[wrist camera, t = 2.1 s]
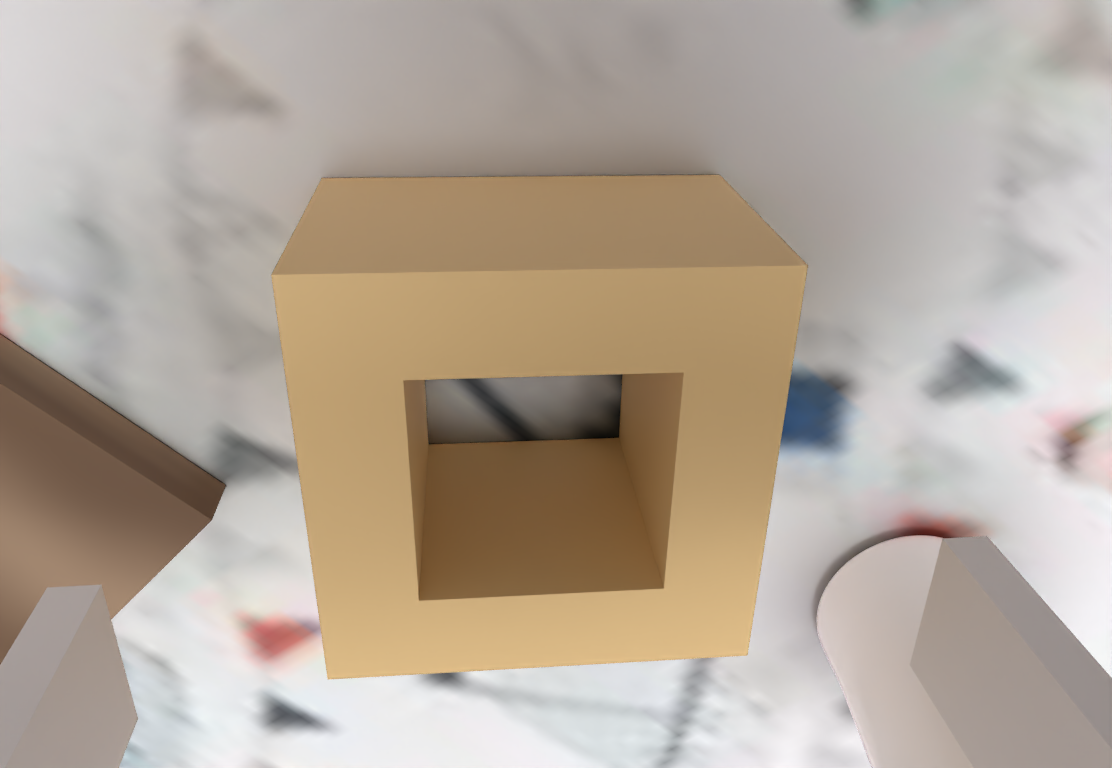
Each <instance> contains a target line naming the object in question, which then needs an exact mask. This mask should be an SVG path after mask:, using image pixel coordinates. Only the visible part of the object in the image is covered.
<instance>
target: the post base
mask: <svg viewBox="0 0 1112 768" xmlns="http://www.w3.org/2000/svg"><path fill="white" fill-rule="evenodd" d="M225 487H226V485H224V484H223V483H221V482H220V481H218V480H217V479H215V478H214V477H212V476H211V475H209V474H208V473H206V472H205V471H203V470H202V469H200V468H199V467H197V466H196V465H194V464H193V463H192V462H190V461H189V460H187V459H186V458H184V457H183V456H181V455H180V454H178V453H177V452H175V451H174V450H172V449H171V448H169V447H168V446H166V445H165V444H163V443H162V442H160V441H159V440H157V439H156V438H154V437H153V436H151V435H150V434H148V433H147V432H145V431H144V430H142V429H141V428H139V427H138V426H136V425H135V424H133V423H132V422H130V421H129V420H127V419H126V418H124V417H123V416H121V415H120V414H118V413H117V412H115V411H114V410H112V409H111V408H109V407H108V406H106V405H105V404H103V403H102V402H101V401H99V400H98V399H96V398H95V397H93V396H92V395H90V394H89V393H87V392H86V391H84V390H83V389H81V388H80V387H78V386H77V385H75V384H74V383H72V382H71V381H69V380H68V379H66V378H65V377H63V376H62V375H60V374H59V373H57V372H56V371H54V370H53V369H51V368H50V367H48V366H47V365H45V364H44V363H42V362H41V361H39V360H38V359H36V358H35V357H33V356H32V355H30V354H29V353H27V352H26V351H24V350H23V349H21V348H20V347H18V346H17V345H15V344H14V343H12V342H11V341H10V340H8V339H7V338H5V337H4V336H2V335H1V334H0V665H1V663H2V661H3V660H4V658H5V656H6V655H7V653H8V651H9V650H10V648H11V646H12V645H13V643H14V641H15V640H16V638H17V636H18V635H19V633H20V632H21V630H22V628H23V627H24V625H25V623H26V622H27V620H28V618H29V617H30V615H31V613H32V612H33V610H34V608H35V607H36V605H37V603H38V602H39V600H40V599H41V597H42V595H43V594H44V592H45V590H46V589H47V588H48V587H67V586H85V585H102V589H103V592H104V596H105V600H106V603H107V607H108V611H109V614H110V618H111V619H112V618H113V617H114V616H115V615H116V614H117V613H118V612H119V611H120V610H121V609H122V608H123V607H124V606H125V605H126V604H127V603H128V602H129V601H130V600H131V599H132V598H133V597H134V596H135V595H136V594H137V593H138V592H139V591H140V590H142V589H143V588H144V587H145V586H146V585H147V584H148V583H149V582H150V581H151V580H152V579H153V578H154V577H155V576H156V575H157V574H158V573H159V572H160V571H161V570H162V569H163V568H164V567H165V566H166V565H167V564H168V563H169V562H170V561H171V560H172V559H173V558H174V557H175V556H176V555H177V554H178V553H179V552H180V551H181V550H182V549H183V548H184V547H185V546H186V545H187V544H188V543H189V542H190V541H191V540H192V539H193V538H194V537H195V536H196V535H197V534H198V533H199V532H200V531H201V530H202V529H203V528H204V527H205V526H206V525H207V524H208V523H209V522H210V521H211V520H212V518H213V516H214V513H215V511H216V509H217V506H218V504H219V501H220V499H221V496H222V494H223V492H224V489H225Z"/></svg>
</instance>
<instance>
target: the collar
mask: <svg viewBox="0 0 1112 768" xmlns="http://www.w3.org/2000/svg"><path fill="white" fill-rule="evenodd" d="M807 268H808V265H807V264H806V263H805V262H804V261H803V260H802V259H801V258H800V257H799V256H798V255H797V254H796V253H795V252H794V251H793V250H792V249H791V248H790V247H789V246H788V245H787V244H786V243H785V241H784V240H783V239H782V238H781V237H780V236H779V235H778V234H777V233H776V232H775V231H774V230H773V229H772V228H771V227H770V226H769V225H768V224H767V223H766V222H765V221H764V220H763V219H762V218H761V217H760V216H759V215H758V214H757V213H756V212H755V211H754V210H753V209H752V208H751V207H750V206H749V205H748V203H747V202H746V201H745V200H744V199H743V198H742V197H741V196H740V195H739V194H738V193H737V192H736V191H735V190H734V189H733V188H732V187H731V186H730V185H729V184H728V183H727V182H726V181H725V180H724V179H723V178H722V177H721V176H720V175H631V176H507V177H383V178H322V179H321V181H320V183H319V185H318V186H317V188H316V190H315V192H314V194H313V196H312V198H311V200H310V202H309V204H308V206H307V207H306V209H305V211H304V213H303V215H302V217H301V219H300V221H299V223H298V225H297V227H296V229H295V230H294V232H293V234H292V236H291V238H290V240H289V242H288V244H287V246H286V248H285V250H284V251H283V253H282V255H281V257H280V259H279V261H278V263H277V265H276V267H275V269H274V271H273V273H272V274H271V276H272V284H273V291H274V298H275V305H276V312H277V319H278V327H279V334H280V341H281V348H282V355H283V362H284V370H285V377H286V384H287V391H288V398H289V405H290V412H291V420H292V427H293V434H294V441H295V448H296V455H297V463H298V470H299V477H300V484H301V491H302V498H303V505H304V513H305V520H306V527H307V534H308V541H309V548H310V556H311V563H312V570H313V577H314V584H315V591H316V599H317V606H318V613H319V620H320V627H321V634H322V641H323V649H324V656H325V663H326V670H327V677H328V679H343V678H361V677H378V676H396V675H413V674H431V673H448V672H466V671H483V670H501V669H518V668H536V667H554V666H571V665H589V664H606V663H624V662H641V661H659V660H676V659H694V658H711V657H729V656H746V655H748V648H749V642H750V635H751V629H752V622H753V616H754V609H755V603H756V597H757V590H758V584H759V577H760V571H761V564H762V558H763V552H764V545H765V539H766V532H767V526H768V519H769V513H770V506H771V500H772V494H773V487H774V481H775V474H776V468H777V461H778V455H779V448H780V442H781V436H782V429H783V423H784V416H785V410H786V403H787V397H788V391H789V384H790V378H791V371H792V365H793V358H794V352H795V345H796V339H797V333H798V326H799V320H800V313H801V307H802V300H803V294H804V287H805V281H806V275H807ZM612 374H623V375H622V393H621V410H620V428H619V438H600V439H571V440H542V441H513V442H484V443H455V444H429V442H428V425H427V408H426V391H425V380H434V379H469V378H505V377H540V376H576V375H612Z"/></svg>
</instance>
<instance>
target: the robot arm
mask: <svg viewBox="0 0 1112 768" xmlns="http://www.w3.org/2000/svg"><path fill="white" fill-rule="evenodd" d="M910 666H911V668H912V670H913V671H914V673H915V674H916V676H917V678H918V679H919V681H920V682H921V684H922V686H923V687H924V689H925V690H926V692H927V694H928V695H929V697H930V699H931V700H932V702H933V703H934V705H935V707H936V708H937V710H938V711H939V713H940V715H941V716H942V718H943V719H944V721H945V723H946V724H947V726H948V727H949V729H950V731H951V732H952V734H953V735H954V737H955V739H956V740H957V742H958V744H959V745H960V747H961V748H962V750H963V752H964V753H965V755H966V756H967V758H968V760H969V761H970V763H971V764H972V766H973V768H1112V678H1111V677H1110V676H1109V674H1108V673H1107V672H1106V671H1105V670H1104V669H1103V668H1102V666H1101V665H1100V664H1099V663H1098V662H1097V661H1096V660H1095V659H1094V657H1093V656H1092V655H1091V654H1090V653H1089V652H1088V651H1087V649H1086V648H1085V647H1084V646H1083V645H1082V644H1081V643H1080V641H1079V640H1078V639H1077V638H1076V637H1075V636H1074V635H1073V633H1072V632H1071V631H1070V630H1069V629H1068V628H1067V627H1066V626H1065V624H1064V623H1063V622H1062V621H1061V620H1060V619H1059V618H1058V616H1057V615H1056V614H1055V613H1054V612H1053V611H1052V610H1051V608H1050V607H1049V606H1048V605H1047V604H1046V603H1045V602H1044V601H1043V599H1042V598H1041V597H1040V596H1039V595H1038V594H1037V593H1036V591H1035V590H1034V589H1033V588H1032V587H1031V586H1030V585H1029V583H1028V582H1027V581H1026V580H1025V579H1024V578H1023V577H1022V575H1021V574H1020V573H1019V572H1018V571H1017V570H1016V569H1015V568H1014V566H1013V565H1012V564H1011V563H1010V562H1009V561H1008V560H1007V558H1006V557H1005V556H1004V555H1003V554H1002V553H1001V552H1000V550H999V549H998V548H997V547H996V546H995V545H994V544H993V543H992V541H991V540H990V539H989V538H988V537H987V536H980V537H961V538H943V539H942V542H941V546H940V550H939V554H938V558H937V562H936V565H935V569H934V573H933V577H932V581H931V585H930V589H929V592H928V596H927V600H926V604H925V608H924V612H923V616H922V619H921V623H920V627H919V631H918V635H917V639H916V643H915V646H914V650H913V654H912V658H911V662H910ZM137 720H138V717H137V713H136V710H135V706H134V702H133V699H132V695H131V691H130V688H129V684H128V680H127V677H126V673H125V669H124V666H123V662H122V658H121V655H120V651H119V647H118V644H117V640H116V636H115V633H114V629H113V625H112V622H111V618H110V614H109V611H108V607H107V603H106V600H105V596H104V592H103V589H102V585H85V586H67V587H48V588H47V589H46V590H45V592H44V594H43V595H42V597H41V599H40V600H39V602H38V603H37V605H36V607H35V608H34V610H33V612H32V613H31V615H30V617H29V618H28V620H27V622H26V623H25V625H24V627H23V628H22V630H21V632H20V633H19V635H18V636H17V638H16V640H15V641H14V643H13V645H12V646H11V648H10V650H9V651H8V653H7V655H6V656H5V658H4V660H3V661H2V663H1V665H0V768H119V766H120V763H121V761H122V758H123V755H124V753H125V750H126V748H127V745H128V743H129V740H130V738H131V735H132V733H133V730H134V727H135V725H136V722H137Z"/></svg>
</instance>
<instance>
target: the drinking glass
mask: <svg viewBox="0 0 1112 768" xmlns="http://www.w3.org/2000/svg"><path fill="white" fill-rule="evenodd" d="M942 539H943V538H942V537H937V536H929V535H913V536H904V537H898V538H894V539H890V540H887V541H884V542H881V543H878V544H876V545H874V546H872V547H870V548H868V549H866V550H864V551H862V552H860V553H859V554H857V555H856V556H854V557H853V558H852V559H851V560H849V561H848V562H847V563H846V564H845V565H843V566H842V567H841V568H840V569H839V570H838V572H837V573H836V574H835V575H834V576H833V578H832V579H831V580H830V582H829V583H828V585H827V586H826V588H825V590H824V592H823V594H822V597H821V599H820V602H819V606H818V611H817V632H818V636H819V640H820V643H821V646H822V648H823V651H824V653H825V655H826V657H827V659H828V661H829V663H830V665H831V667H832V669H833V671H834V674H835V676H836V678H837V680H838V682H839V684H840V686H841V688H842V691H843V693H844V696H845V699H846V701H847V704H848V706H849V709H850V712H851V714H852V717H853V719H854V722H855V725H856V727H857V730H858V733H859V735H860V738H861V741H862V743H863V746H864V749H865V751H866V754H867V757H868V759H869V762H870V765H871V767H872V768H973V766H972V764H971V763H970V761H969V760H968V758H967V756H966V755H965V753H964V752H963V750H962V748H961V747H960V745H959V744H958V742H957V740H956V739H955V737H954V735H953V734H952V732H951V731H950V729H949V727H948V726H947V724H946V723H945V721H944V719H943V718H942V716H941V715H940V713H939V711H938V710H937V708H936V707H935V705H934V703H933V702H932V700H931V699H930V697H929V695H928V694H927V692H926V690H925V689H924V687H923V686H922V684H921V682H920V681H919V679H918V678H917V676H916V674H915V673H914V671H913V670H912V668H911V666H910V662H911V658H912V654H913V650H914V646H915V643H916V639H917V635H918V631H919V627H920V623H921V619H922V616H923V612H924V608H925V604H926V600H927V596H928V592H929V589H930V585H931V581H932V577H933V573H934V569H935V565H936V562H937V558H938V554H939V550H940V546H941V542H942Z"/></svg>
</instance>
